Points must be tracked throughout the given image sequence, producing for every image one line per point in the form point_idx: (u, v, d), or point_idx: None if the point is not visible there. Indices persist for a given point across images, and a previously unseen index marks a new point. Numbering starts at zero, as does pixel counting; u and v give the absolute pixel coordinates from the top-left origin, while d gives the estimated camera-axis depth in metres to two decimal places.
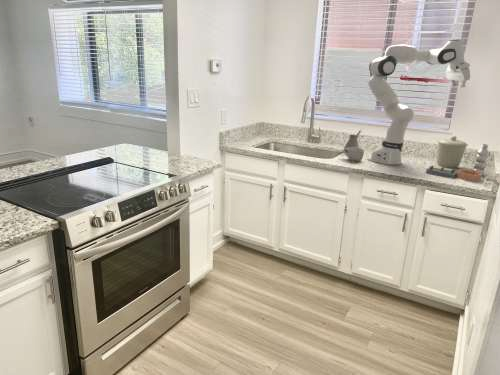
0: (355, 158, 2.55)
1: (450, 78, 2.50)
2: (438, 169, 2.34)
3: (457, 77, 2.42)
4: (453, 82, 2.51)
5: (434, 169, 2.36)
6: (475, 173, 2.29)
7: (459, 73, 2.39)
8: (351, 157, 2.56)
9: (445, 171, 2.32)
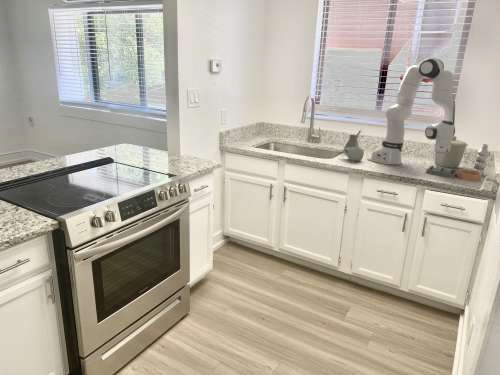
0: (355, 158, 2.55)
1: None
2: None
3: None
4: None
5: (434, 169, 2.36)
6: (475, 173, 2.29)
7: None
8: (351, 157, 2.56)
9: (445, 171, 2.32)
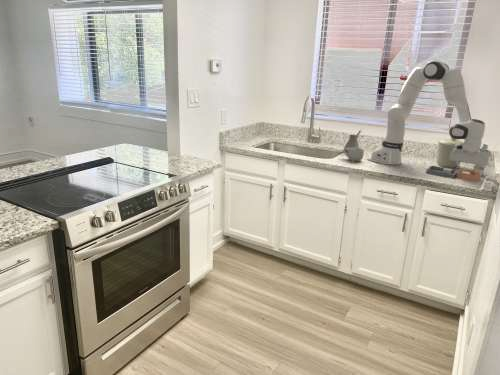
0: (355, 158, 2.55)
1: None
2: None
3: None
4: (476, 167, 2.24)
5: None
6: (475, 173, 2.29)
7: None
8: (351, 157, 2.56)
9: (445, 171, 2.32)
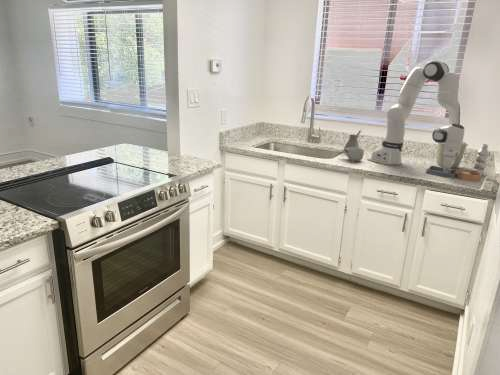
0: (355, 158, 2.55)
1: None
2: None
3: None
4: None
5: None
6: (475, 173, 2.29)
7: None
8: (351, 157, 2.56)
9: None
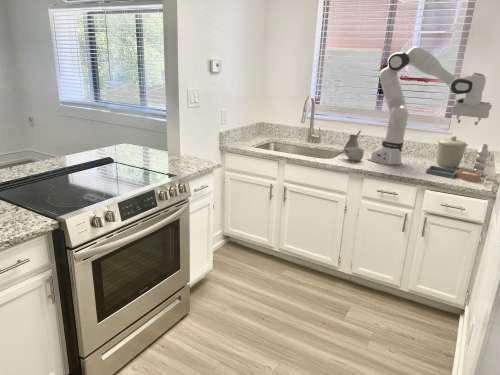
0: (355, 158, 2.55)
1: None
2: None
3: None
4: None
5: None
6: None
7: None
8: (351, 157, 2.56)
9: (470, 174, 2.28)
